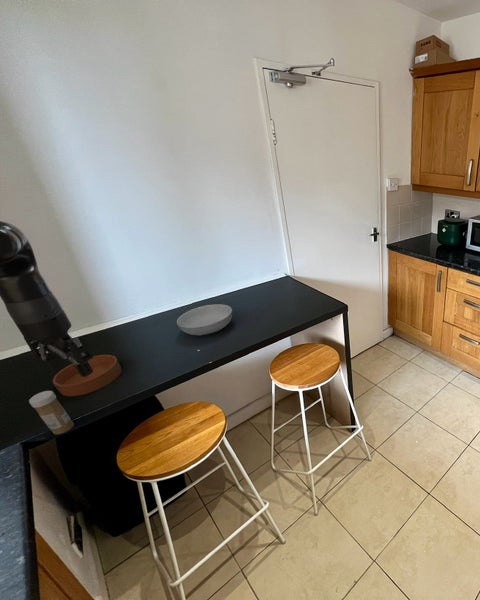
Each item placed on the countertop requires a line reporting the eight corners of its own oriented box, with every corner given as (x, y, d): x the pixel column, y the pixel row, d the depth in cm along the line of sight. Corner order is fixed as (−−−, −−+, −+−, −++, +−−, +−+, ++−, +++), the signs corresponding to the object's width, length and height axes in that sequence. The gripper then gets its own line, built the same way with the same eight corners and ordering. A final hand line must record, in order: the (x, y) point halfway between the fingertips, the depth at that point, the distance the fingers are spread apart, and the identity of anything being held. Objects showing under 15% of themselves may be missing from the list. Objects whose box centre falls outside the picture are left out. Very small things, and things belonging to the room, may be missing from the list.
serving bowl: (245, 323, 141) (241, 310, 138) (198, 347, 125) (193, 333, 122) (218, 312, 151) (214, 299, 147) (172, 332, 135) (166, 319, 131)
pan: (63, 404, 98) (55, 393, 96) (56, 381, 108) (50, 371, 106) (126, 377, 109) (121, 367, 107) (116, 359, 119) (111, 349, 117)
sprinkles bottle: (80, 426, 91) (57, 391, 84) (62, 439, 87) (37, 403, 80) (68, 423, 91) (44, 388, 85) (49, 436, 87) (23, 401, 81)
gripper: (-9, 319, 67) (32, 379, 74) (44, 326, 64) (80, 386, 71) (34, 303, 73) (67, 359, 80) (83, 309, 71) (113, 366, 78)
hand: (73, 372), depth 76 cm, fingers open, 8 cm apart
